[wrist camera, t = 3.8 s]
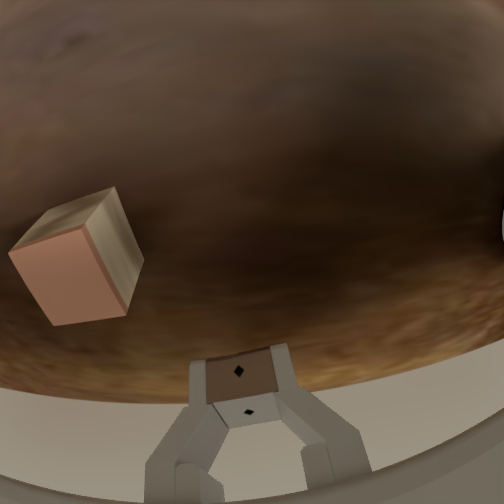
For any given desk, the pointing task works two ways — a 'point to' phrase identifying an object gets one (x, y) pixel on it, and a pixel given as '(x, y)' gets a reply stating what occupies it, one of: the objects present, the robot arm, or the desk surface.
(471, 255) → the desk surface
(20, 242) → the birch cube
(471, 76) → the desk surface
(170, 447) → the robot arm
